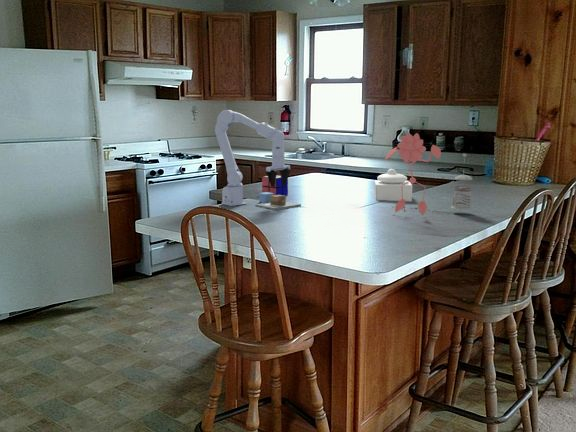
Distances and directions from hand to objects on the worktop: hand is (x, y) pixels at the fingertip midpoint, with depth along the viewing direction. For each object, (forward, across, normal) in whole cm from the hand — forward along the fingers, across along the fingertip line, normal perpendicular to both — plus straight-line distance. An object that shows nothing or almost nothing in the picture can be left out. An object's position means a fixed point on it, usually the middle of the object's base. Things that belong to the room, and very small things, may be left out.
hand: (278, 185), depth 272 cm
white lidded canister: (+10, +51, -31) cm, 61 cm away
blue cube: (+10, +2, +9) cm, 13 cm away
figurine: (+10, +19, -58) cm, 62 cm away
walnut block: (+8, -2, -2) cm, 9 cm away
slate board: (+10, -2, -2) cm, 10 cm away
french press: (+10, +51, -67) cm, 85 cm away
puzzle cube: (+10, +23, +24) cm, 35 cm away
